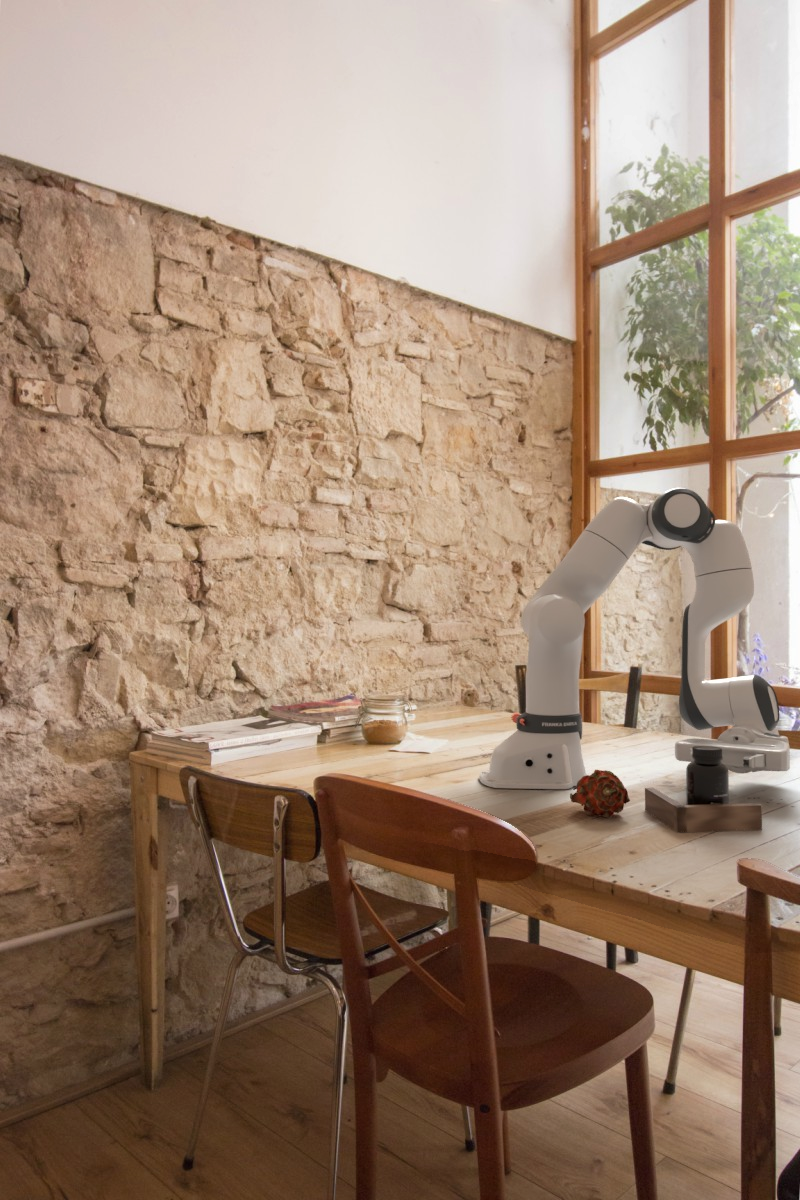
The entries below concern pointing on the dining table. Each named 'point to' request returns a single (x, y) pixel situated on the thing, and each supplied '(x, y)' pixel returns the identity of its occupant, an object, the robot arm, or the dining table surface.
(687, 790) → the supplement bottle
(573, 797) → the dragon fruit
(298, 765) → the dining table surface
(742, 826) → the corner arena
